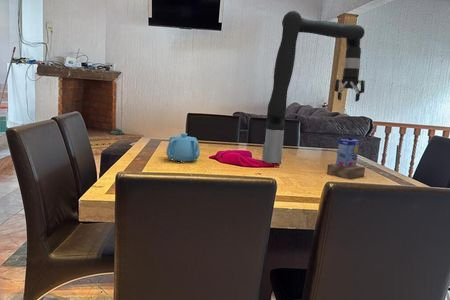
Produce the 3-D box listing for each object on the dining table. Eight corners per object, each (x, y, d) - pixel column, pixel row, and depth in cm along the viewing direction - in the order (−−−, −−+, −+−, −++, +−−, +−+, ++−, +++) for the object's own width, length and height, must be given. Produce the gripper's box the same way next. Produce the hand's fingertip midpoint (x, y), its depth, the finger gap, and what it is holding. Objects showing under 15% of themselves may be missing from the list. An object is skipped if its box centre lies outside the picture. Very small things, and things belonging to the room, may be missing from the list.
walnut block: (326, 175, 180) (327, 164, 180) (340, 172, 188) (342, 162, 188) (349, 180, 172) (351, 169, 171) (363, 177, 180) (365, 167, 179)
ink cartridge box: (346, 167, 174) (349, 135, 172) (335, 165, 178) (338, 134, 176) (357, 165, 181) (360, 135, 179) (346, 163, 185) (349, 133, 183)
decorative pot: (198, 164, 184) (199, 136, 182) (164, 162, 183) (165, 134, 181) (199, 158, 200) (201, 132, 198) (168, 156, 199) (169, 130, 197)
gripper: (334, 67, 193) (331, 99, 195) (364, 67, 185) (360, 101, 187) (340, 68, 199) (336, 100, 201) (368, 68, 191) (364, 102, 193)
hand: (348, 100), depth 194 cm, fingers open, 8 cm apart
